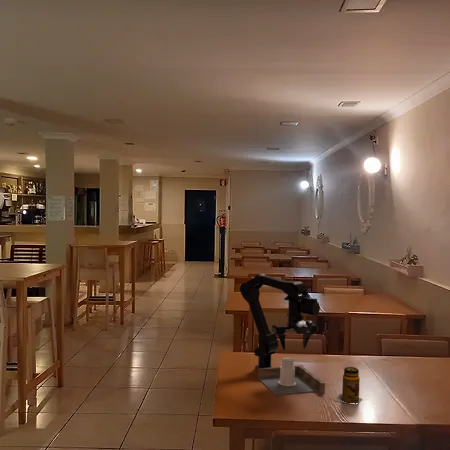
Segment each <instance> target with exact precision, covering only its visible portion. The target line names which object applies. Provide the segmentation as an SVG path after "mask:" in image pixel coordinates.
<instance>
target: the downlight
mask: <svg viewBox="0 0 450 450" xmlns="http://www.w3.org/2000/svg"><path fill="white" fill-rule="evenodd" d="M294 361H295V359H294V358H292V357H282V361H281V366H279V367H280V381H279V382H278V383H279V384H280V385H283V386H294V385H296V383H295V382H294V380H295V368H294V367H293V366H295V365H294V363H295V362H294Z"/></svg>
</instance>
